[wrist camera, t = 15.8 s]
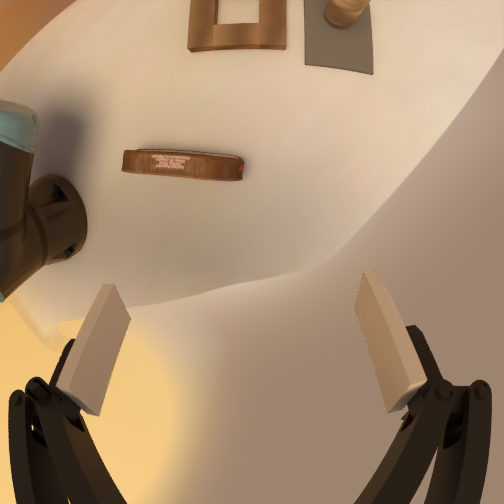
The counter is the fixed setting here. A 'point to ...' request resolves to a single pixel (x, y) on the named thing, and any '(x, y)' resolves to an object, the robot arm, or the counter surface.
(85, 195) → the counter surface
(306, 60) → the mat
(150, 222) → the counter surface
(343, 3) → the peg
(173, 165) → the tin
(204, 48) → the slot block
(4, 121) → the robot arm
